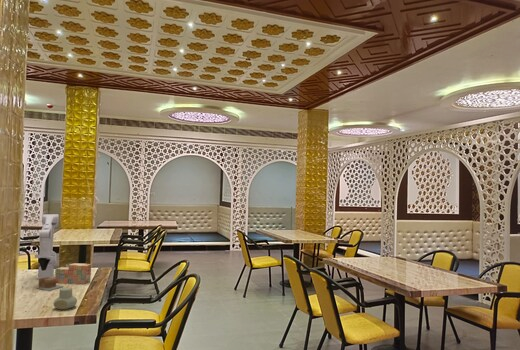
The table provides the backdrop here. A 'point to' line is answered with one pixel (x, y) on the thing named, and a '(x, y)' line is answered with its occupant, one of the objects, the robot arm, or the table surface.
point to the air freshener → (65, 299)
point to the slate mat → (50, 288)
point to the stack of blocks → (74, 274)
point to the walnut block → (47, 282)
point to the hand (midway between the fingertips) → (43, 270)
